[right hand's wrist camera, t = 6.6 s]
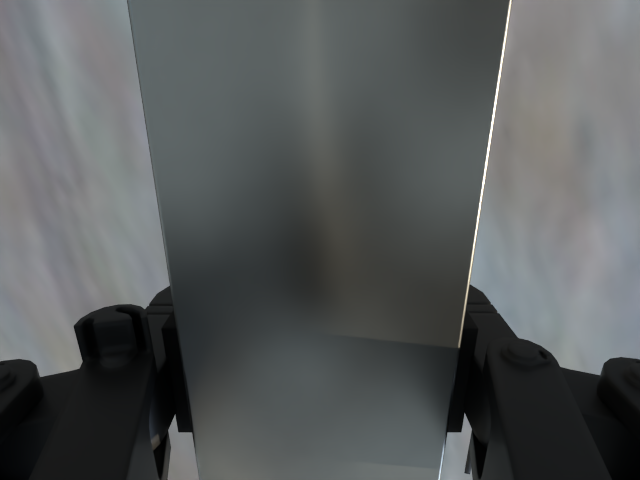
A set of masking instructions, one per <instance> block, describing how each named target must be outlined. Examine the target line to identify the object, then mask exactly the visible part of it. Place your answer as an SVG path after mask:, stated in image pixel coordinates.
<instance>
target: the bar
mask: <svg viewBox="0 0 640 480" xmlns="http://www.w3.org/2000/svg"><path fill="white" fill-rule="evenodd" d="M127 3H128V10H129V17H130V23H131V30H132V37H133V43H134V50H135V56H136V63H137V70H138V76H139V83H140V90H141V96H142V103H143V109H144V116H145V123H146V129H147V136H148V143H149V149H150V156H151V162H152V169H153V176H154V182H155V189H156V195H157V202H158V209H159V215H160V222H161V229H162V235H163V242H164V248H165V255H166V262H167V268H168V275H169V282H170V288H171V295H172V301H173V308H174V315H175V321H176V328H177V335H178V341H179V348H180V354H181V361H182V368H183V374H184V381H185V387H186V394H187V401H188V407H189V414H190V421H191V427H192V434H193V440H194V447H195V454H196V460H197V467H198V474H199V480H440V477H441V471H442V464H443V457H444V451H445V444H446V437H447V431H448V424H449V417H450V411H451V404H452V398H453V391H454V384H455V378H456V371H457V364H458V358H459V351H460V344H461V338H462V331H463V324H464V318H465V311H466V305H467V298H468V291H469V285H470V278H471V271H472V265H473V258H474V251H475V245H476V238H477V232H478V225H479V218H480V212H481V205H482V198H483V192H484V185H485V178H486V172H487V165H488V158H489V152H490V145H491V139H492V132H493V125H494V119H495V112H496V105H497V99H498V92H499V85H500V79H501V72H502V66H503V59H504V52H505V46H506V39H507V32H508V26H509V19H510V12H511V6H512V0H127Z"/></svg>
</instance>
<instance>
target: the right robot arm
mask: <svg viewBox="0 0 640 480" xmlns="http://www.w3.org/2000/svg"><path fill="white" fill-rule="evenodd" d="M74 329H75V333H76V337H77V341H78V345H79V349H80V353H81V356H82V360H83V362H82V365H81V367H80V369H77V370H73V371H69V372H64V373H59V374H54V375H49V376H44V377H40V376H39V373H38V369H37V366H36V365H35V364H34V363H33V362H31V361H29V360H22V359H16V360H7V361H1V362H0V480H167V478H168V469H169V460H170V451H171V445H170V439H169V433H168V429H169V427H170V425H171V422H172V420H173V418H174V415H175V414H176V420H177V426H178V432H192V427H191V421H190V414H189V407H188V401H187V394H186V387H185V381H184V374H183V368H182V361H181V354H180V348H179V341H178V335H177V328H176V321H175V315H174V308H173V301H172V295H171V288H170V286H169V287H167V288H166V289H164V290H162V291H161V292H159V293H158V294H157V295H156V296H155V297H154V299H153V300H152V301H151V302H150V304H149V306H147V308H146V309H143V308H142V307H141V306H136V305H132V304H124V305H114V306H109V307H104V308H101V309H99V310H96V311H93V312H91V313H89V314H88V315H86V316H84V317H83V318H81V319H80V320H79V321H78V322H77V323H76V324H75V325H74ZM464 413H465V414H466V416H467V419H468V421H469V423H470V425H471V428H472V433H471V439H470V444H469V450H468V455H467V461H466V467H465V473H467V474H470V471H471V468H472V477H473V480H640V360H639V359H632V358H623V357H619V358H612V359H609V360H608V361H607V362H605V363H604V365H603V368H602V371H601V375H595V374H590V373H585V372H580V371H575V370H570V369H566V368H562V367H560V366H559V364H558V362H557V360H556V359H555V358H554V356H553V355H552V354H551V353H550V352H549V351H547V350H546V349H544V348H543V347H542V346H540V345H537V344H535V343H533V342H530V341H528V340H524V339H519V338H518V337H517V336H516V335H515V334H514V332H513V331H512V330H511V328H510V327H509V326H508V324H507V323H506V322H505V321H504V319H503V318H502V317H501V315H500V314H499V313H497V310H496V309H495V308H494V306H493V305H491V302H490V301H489V300H488V299H487V297H486V296H485V295H484V293H483V292H481V291H480V290H478V289H477V288H475V287H473V286H472V285H469V291H468V298H467V305H466V311H465V318H464V324H463V331H462V338H461V344H460V351H459V358H458V364H457V371H456V378H455V384H454V391H453V398H452V404H451V411H450V417H449V424H448V431H447V432H461V431H462V425H463V419H464Z"/></svg>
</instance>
